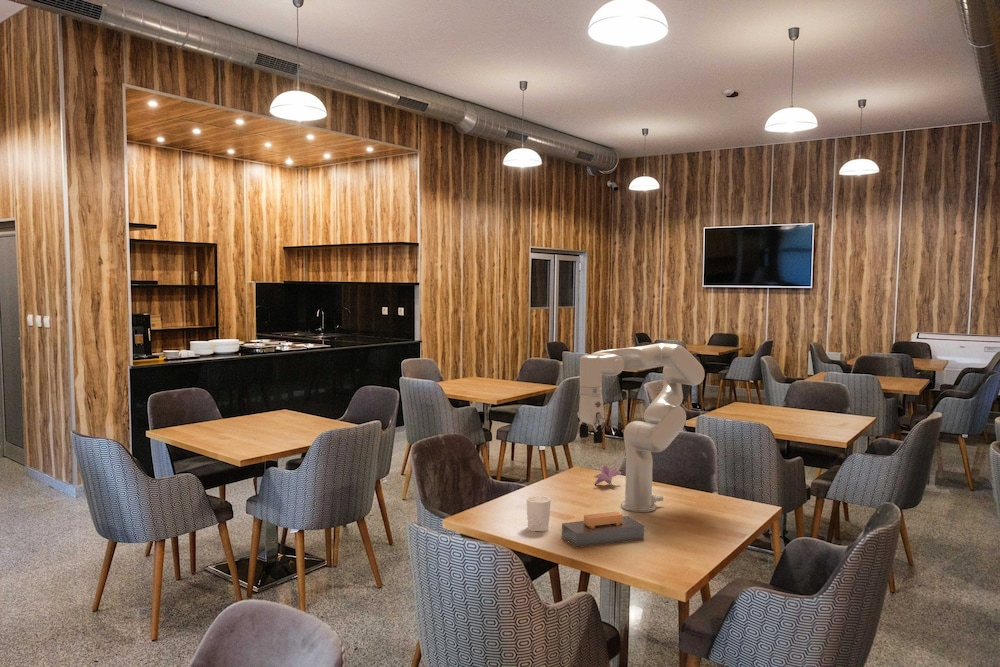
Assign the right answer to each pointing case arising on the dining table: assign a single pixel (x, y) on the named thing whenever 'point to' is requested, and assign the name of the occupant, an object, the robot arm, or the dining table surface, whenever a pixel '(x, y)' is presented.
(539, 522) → the white cup
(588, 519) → the orange arch block
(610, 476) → the lily
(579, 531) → the grey slotted block
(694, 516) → the dining table surface
